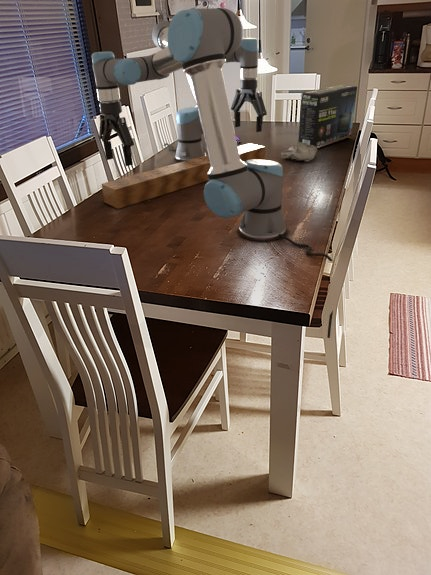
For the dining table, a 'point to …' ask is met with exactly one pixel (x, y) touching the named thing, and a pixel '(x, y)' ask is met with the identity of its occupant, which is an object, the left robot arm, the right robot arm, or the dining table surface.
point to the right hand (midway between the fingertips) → (119, 162)
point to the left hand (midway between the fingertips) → (248, 129)
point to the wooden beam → (167, 178)
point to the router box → (326, 114)
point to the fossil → (300, 152)
